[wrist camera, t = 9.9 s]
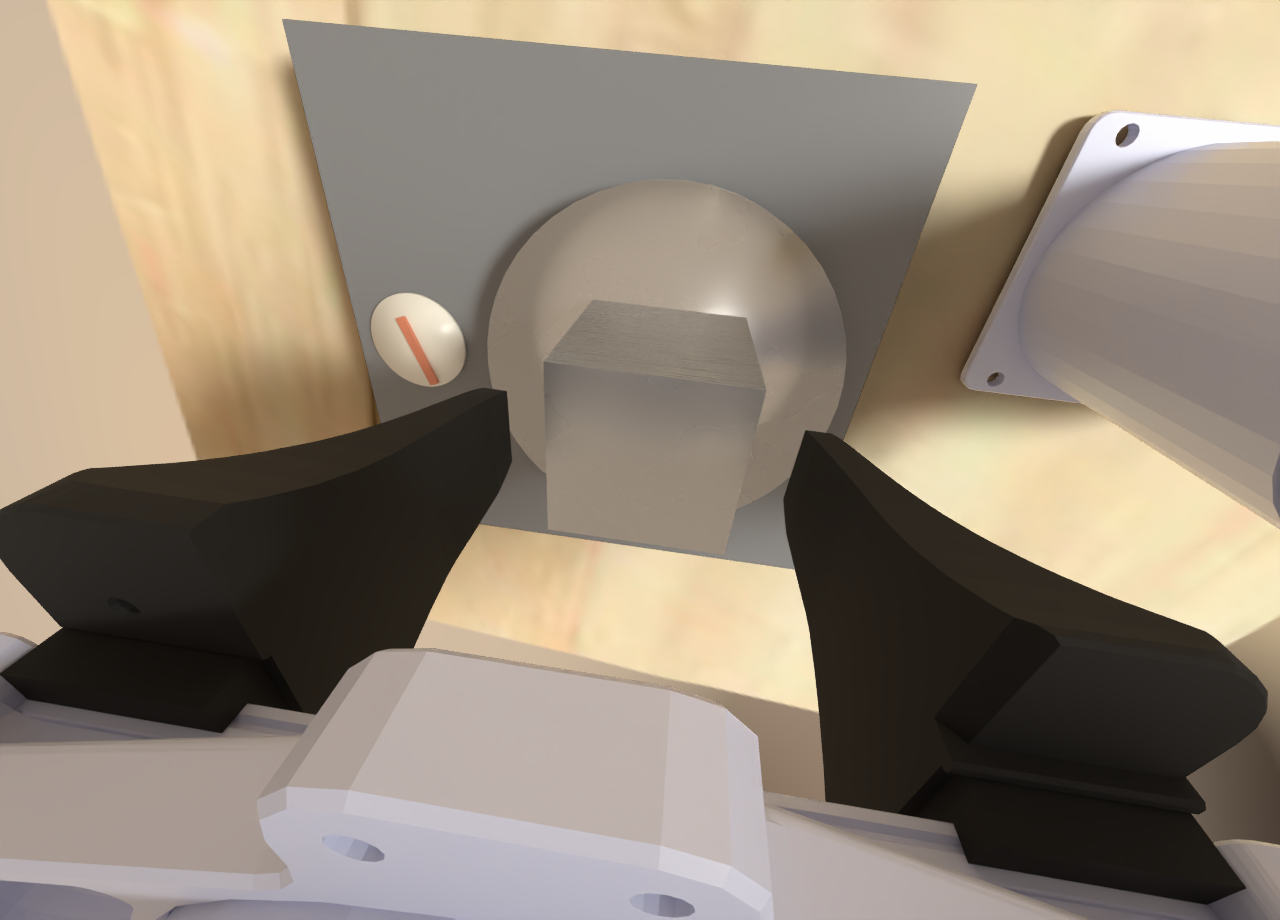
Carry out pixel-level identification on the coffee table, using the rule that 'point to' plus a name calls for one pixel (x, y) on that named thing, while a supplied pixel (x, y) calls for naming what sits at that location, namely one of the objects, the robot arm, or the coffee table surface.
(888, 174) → the scale base
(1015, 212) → the coffee table surface
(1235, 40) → the coffee table surface
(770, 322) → the pan
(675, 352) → the block
